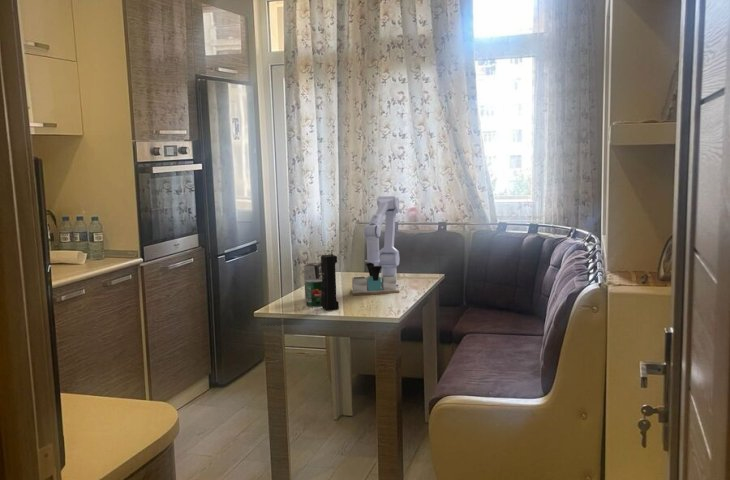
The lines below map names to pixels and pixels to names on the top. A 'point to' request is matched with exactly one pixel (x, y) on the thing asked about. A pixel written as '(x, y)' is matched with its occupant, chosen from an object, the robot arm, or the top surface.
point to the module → (373, 284)
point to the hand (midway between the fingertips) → (374, 279)
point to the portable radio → (328, 282)
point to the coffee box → (312, 272)
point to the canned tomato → (313, 292)
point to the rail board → (361, 289)
